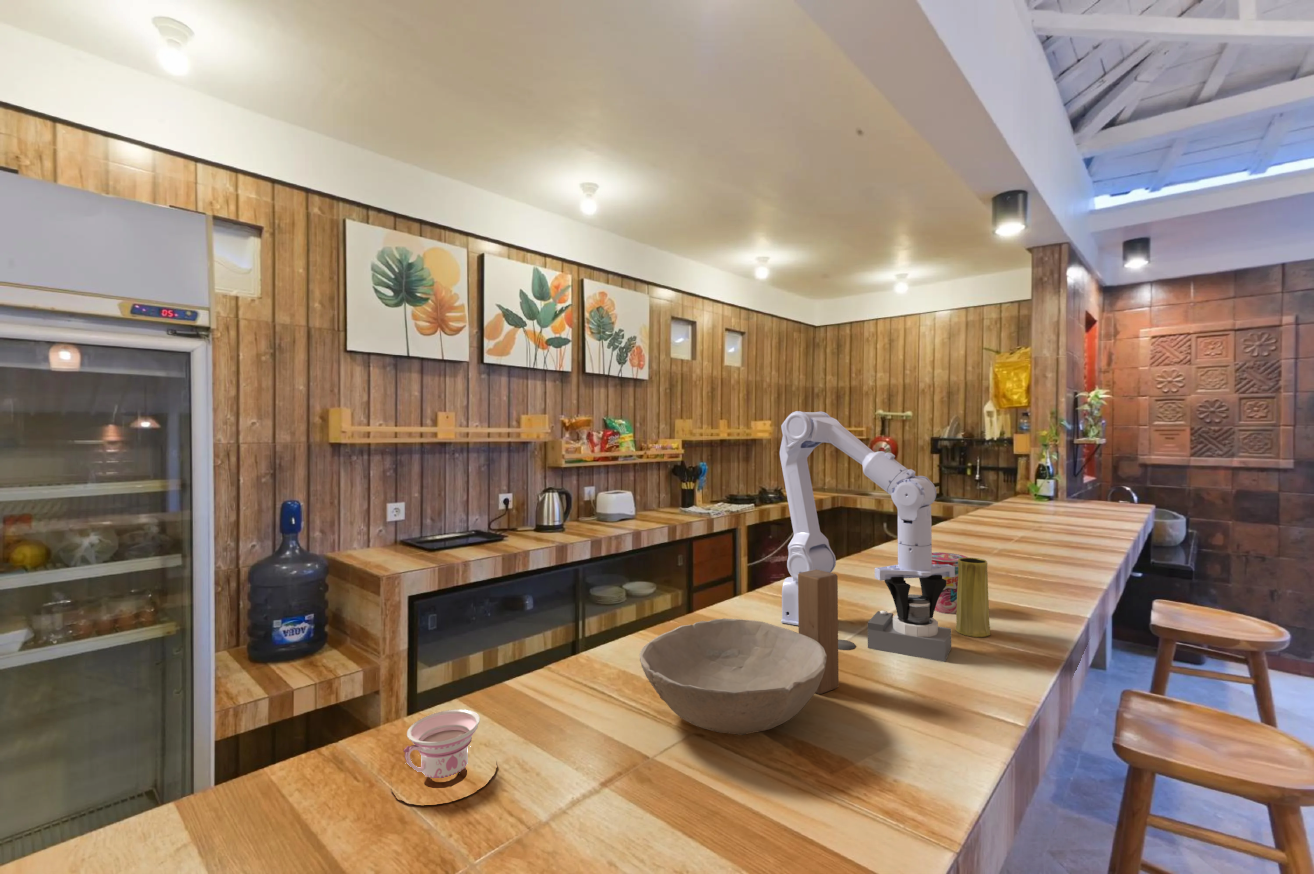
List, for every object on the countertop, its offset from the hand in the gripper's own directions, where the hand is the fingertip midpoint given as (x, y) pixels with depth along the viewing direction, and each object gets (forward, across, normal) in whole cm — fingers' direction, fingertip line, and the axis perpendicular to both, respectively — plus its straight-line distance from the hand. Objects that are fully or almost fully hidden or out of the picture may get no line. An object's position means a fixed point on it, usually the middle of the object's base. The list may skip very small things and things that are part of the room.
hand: (915, 617), depth 110 cm
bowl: (+6, -39, -20) cm, 45 cm away
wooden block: (+6, -25, -11) cm, 27 cm away
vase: (+6, +16, +6) cm, 18 cm away
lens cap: (+6, -12, +4) cm, 14 cm away
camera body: (+6, -1, +1) cm, 6 cm away
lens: (+2, 0, 0) cm, 2 cm away
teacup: (+6, -77, -29) cm, 83 cm away
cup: (+6, +20, +20) cm, 29 cm away
